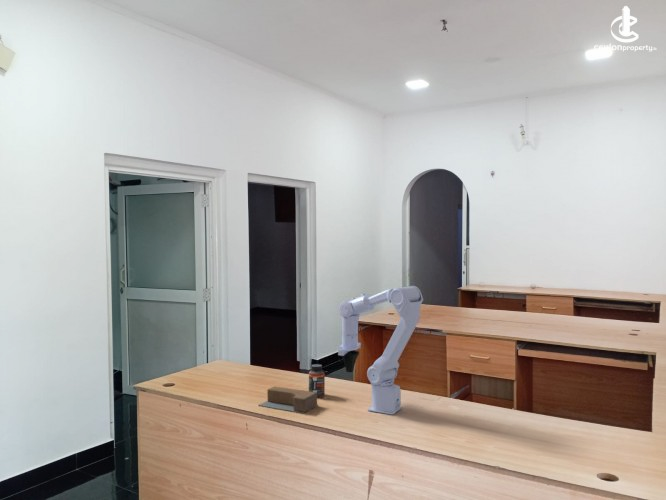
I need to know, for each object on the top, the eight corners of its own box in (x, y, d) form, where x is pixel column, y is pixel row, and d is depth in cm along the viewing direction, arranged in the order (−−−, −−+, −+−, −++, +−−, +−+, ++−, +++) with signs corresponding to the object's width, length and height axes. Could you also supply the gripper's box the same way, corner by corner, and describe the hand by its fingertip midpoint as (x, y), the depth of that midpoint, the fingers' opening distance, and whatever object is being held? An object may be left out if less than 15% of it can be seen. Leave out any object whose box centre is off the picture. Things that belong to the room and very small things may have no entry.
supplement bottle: (317, 398, 188) (317, 367, 188) (305, 396, 192) (305, 365, 192) (327, 395, 193) (327, 364, 193) (315, 392, 197) (315, 362, 197)
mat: (317, 405, 181) (317, 404, 181) (302, 413, 172) (302, 412, 172) (274, 398, 189) (274, 397, 189) (258, 405, 180) (258, 405, 180)
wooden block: (304, 399, 172) (259, 392, 180) (304, 412, 172) (259, 405, 180) (317, 392, 180) (273, 385, 188) (317, 404, 180) (273, 398, 188)
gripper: (348, 330, 194) (348, 365, 194) (330, 336, 181) (330, 374, 182) (366, 331, 191) (365, 368, 191) (348, 338, 178) (348, 377, 178)
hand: (349, 371), depth 186 cm, fingers closed
